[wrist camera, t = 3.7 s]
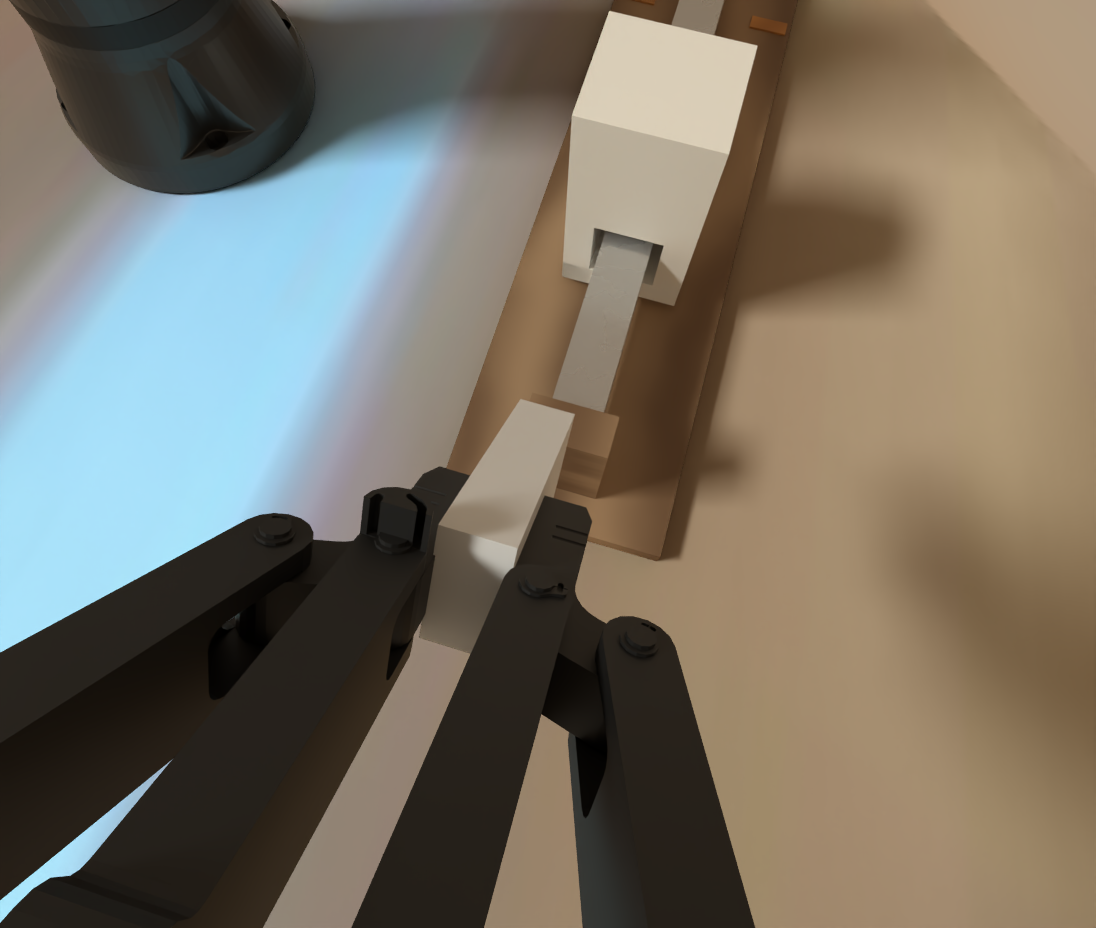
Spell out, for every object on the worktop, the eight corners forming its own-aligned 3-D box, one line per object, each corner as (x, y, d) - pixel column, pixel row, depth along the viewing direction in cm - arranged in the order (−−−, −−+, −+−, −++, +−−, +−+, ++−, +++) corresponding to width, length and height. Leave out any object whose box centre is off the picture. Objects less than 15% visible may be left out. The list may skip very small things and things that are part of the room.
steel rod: (537, 449, 34) (537, 428, 32) (715, -110, 47) (726, -160, 44) (593, 465, 34) (598, 445, 31) (757, -101, 47) (771, -151, 44)
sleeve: (561, 276, 39) (571, 115, 28) (589, 193, 41) (609, 10, 30) (673, 306, 39) (728, 154, 28) (697, 220, 41) (757, 45, 30)
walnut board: (440, 497, 37) (416, 449, 30) (646, -80, 51) (665, -214, 43) (656, 561, 36) (688, 528, 29) (806, -44, 50) (854, -175, 42)
